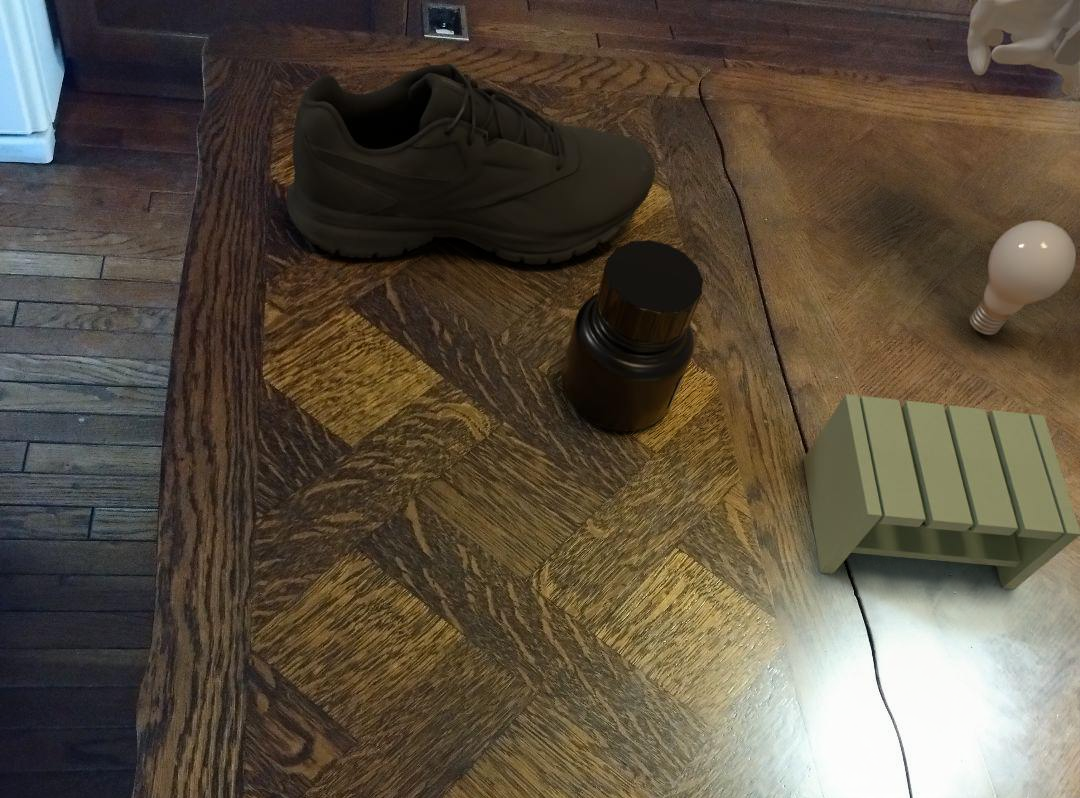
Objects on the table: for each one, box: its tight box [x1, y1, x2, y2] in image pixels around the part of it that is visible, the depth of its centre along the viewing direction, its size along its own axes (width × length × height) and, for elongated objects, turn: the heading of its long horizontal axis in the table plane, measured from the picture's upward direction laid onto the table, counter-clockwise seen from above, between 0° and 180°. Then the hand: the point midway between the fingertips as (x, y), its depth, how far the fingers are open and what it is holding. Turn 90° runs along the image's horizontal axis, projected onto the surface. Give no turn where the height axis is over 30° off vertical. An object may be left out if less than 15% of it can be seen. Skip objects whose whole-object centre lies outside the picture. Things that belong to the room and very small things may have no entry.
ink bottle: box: [561, 239, 704, 432], centre depth 72 cm, size 10×9×12 cm
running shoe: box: [285, 62, 656, 266], centre depth 78 cm, size 11×30×14 cm, turn 104°
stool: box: [802, 393, 1080, 590], centre depth 71 cm, size 15×10×8 cm, turn 89°
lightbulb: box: [969, 219, 1077, 336], centre depth 82 cm, size 6×6×11 cm
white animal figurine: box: [966, 0, 1080, 101], centre depth 72 cm, size 6×8×12 cm
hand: (1048, 25), depth 73 cm, fingers closed on white animal figurine, 6 cm apart
